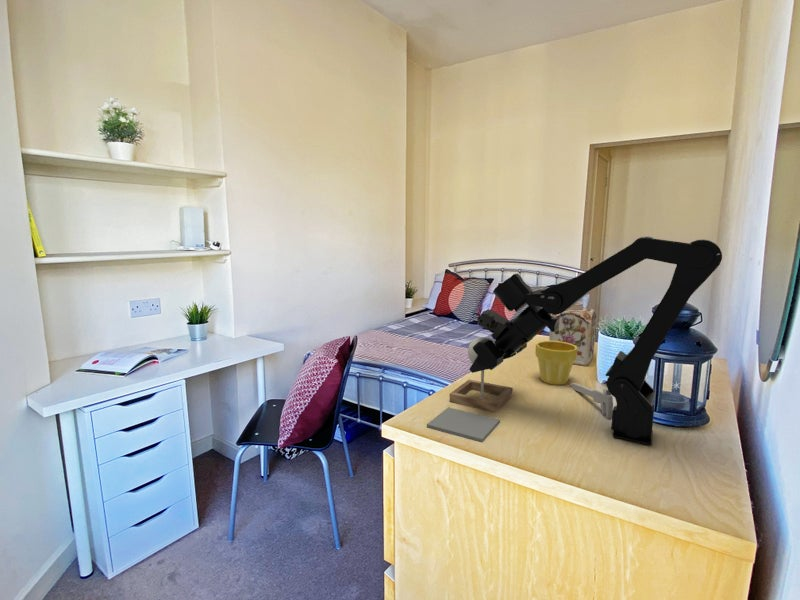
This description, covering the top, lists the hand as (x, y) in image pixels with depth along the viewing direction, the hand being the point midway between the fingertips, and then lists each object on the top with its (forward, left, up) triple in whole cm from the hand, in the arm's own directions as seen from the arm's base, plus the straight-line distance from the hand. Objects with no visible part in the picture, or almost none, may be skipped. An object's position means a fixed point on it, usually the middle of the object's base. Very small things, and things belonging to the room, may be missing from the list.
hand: (477, 367), depth 100 cm
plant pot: (-13, -22, -8) cm, 27 cm away
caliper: (-23, -12, -8) cm, 27 cm away
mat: (-3, +15, -8) cm, 17 cm away
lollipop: (-1, 0, -8) cm, 8 cm away
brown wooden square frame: (-1, 0, -8) cm, 8 cm away
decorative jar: (-13, -45, -8) cm, 47 cm away
